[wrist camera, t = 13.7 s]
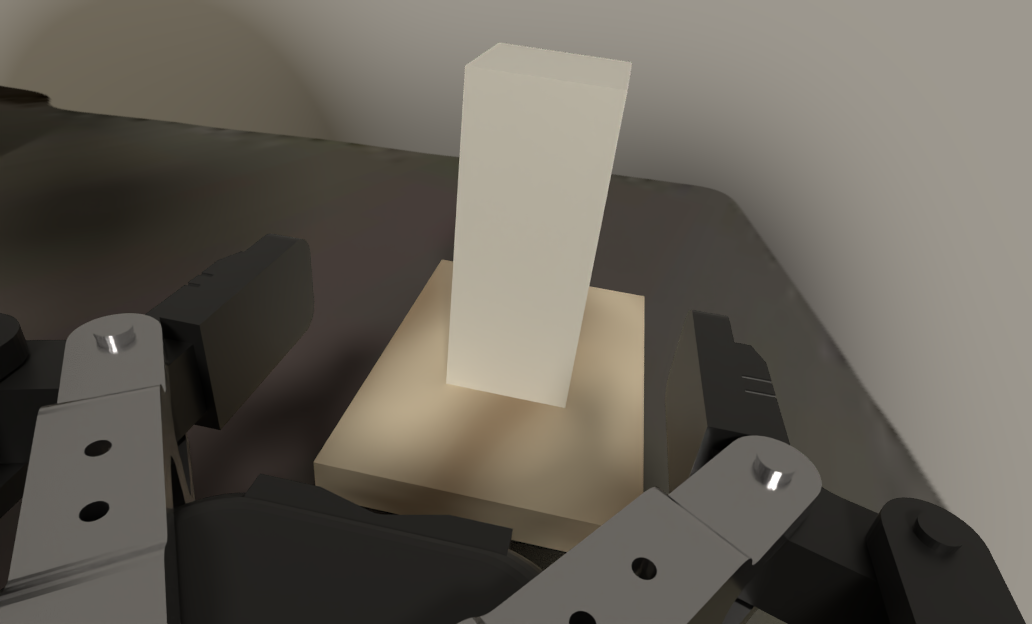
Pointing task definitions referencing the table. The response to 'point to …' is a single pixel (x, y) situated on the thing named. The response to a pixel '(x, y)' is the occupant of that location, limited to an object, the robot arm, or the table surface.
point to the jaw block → (529, 215)
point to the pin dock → (497, 430)
